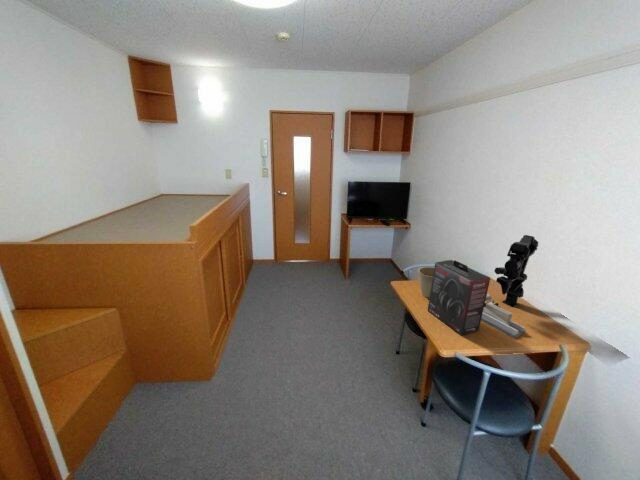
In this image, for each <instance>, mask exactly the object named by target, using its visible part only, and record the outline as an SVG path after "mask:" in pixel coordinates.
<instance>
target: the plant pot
mask: <svg viewBox="0 0 640 480" xmlns="http://www.w3.org/2000/svg"><path fill="white" fill-rule="evenodd" d="M433 273H434V267H433V266H432V267H431V266H424V267H420V268H419V269H418V280H419V286H420V291H421V295H422V296H423V297H425V298H428V299H429V298H430V292H431V286H432V280H433Z"/></svg>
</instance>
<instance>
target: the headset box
mask: <svg viewBox="0 0 640 480" xmlns="http://www.w3.org/2000/svg"><path fill="white" fill-rule="evenodd" d="M433 268H434V273H433V280H432V286H431V292H430V298H428V299H429V300H428V306H427V312H429V313H430V314H432V315H433V316H435V317H436V318H437V319H438V320H439V321H441V322H442V323H444V324H445V325H446V326H448V327H449V328H451V329H452V330H453V331H454V332H456V333H458V335H460V336H464V335H468V334H473V333H476V332H479V331H480V326H481V322H482V321H481V318H482V313H483V309H484V304H485V300H486V295H487V294H488V290H489V286H490V283H491V282H490V281H491V277H490V276H488V275H486V274H483V273H482V272H481V273H480V272H479V271H477V270H475V269H472V268H471V267H468V265H466V264H464V263H462V262H459V261H458V260H452V259H449V260H441V261H436V262H435V263H434V267H433ZM486 301H487V300H486Z"/></svg>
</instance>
